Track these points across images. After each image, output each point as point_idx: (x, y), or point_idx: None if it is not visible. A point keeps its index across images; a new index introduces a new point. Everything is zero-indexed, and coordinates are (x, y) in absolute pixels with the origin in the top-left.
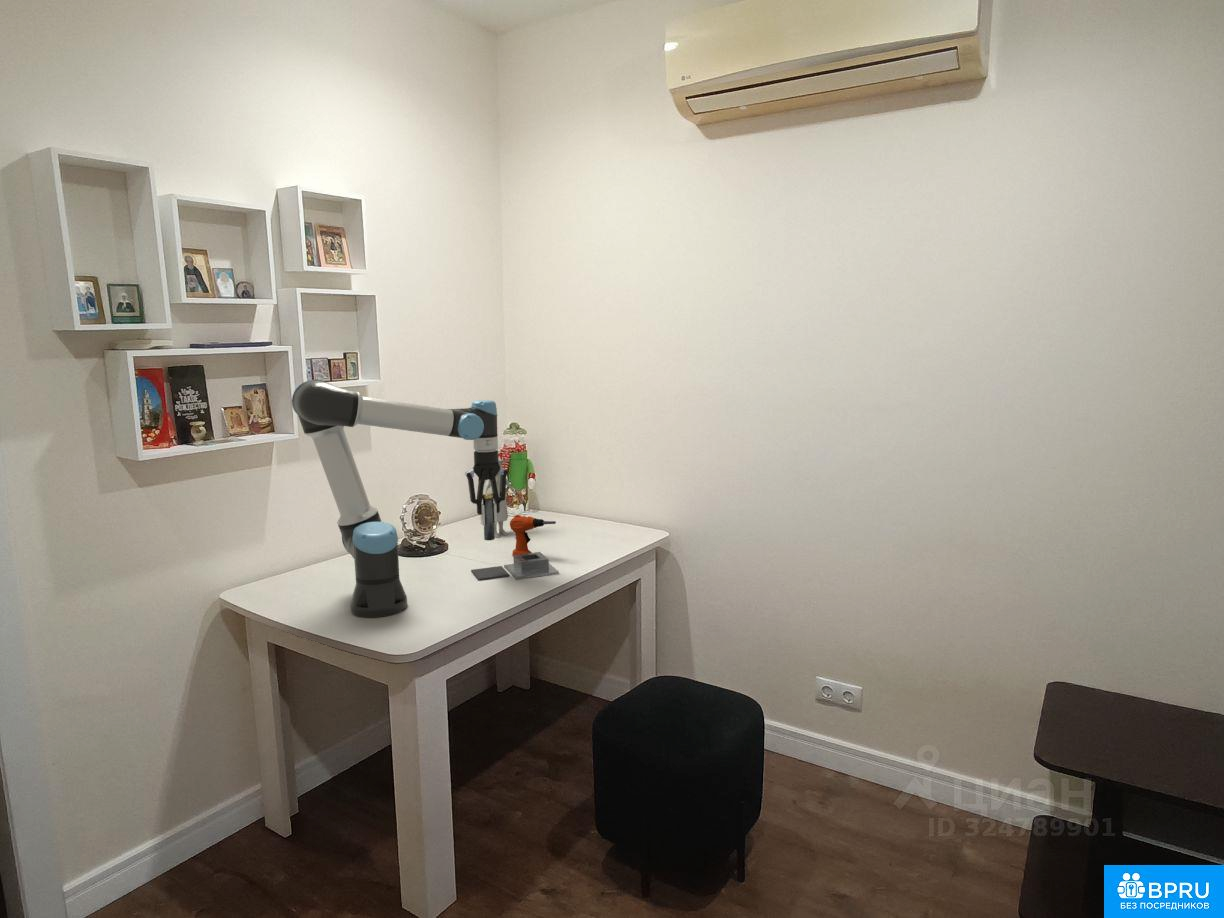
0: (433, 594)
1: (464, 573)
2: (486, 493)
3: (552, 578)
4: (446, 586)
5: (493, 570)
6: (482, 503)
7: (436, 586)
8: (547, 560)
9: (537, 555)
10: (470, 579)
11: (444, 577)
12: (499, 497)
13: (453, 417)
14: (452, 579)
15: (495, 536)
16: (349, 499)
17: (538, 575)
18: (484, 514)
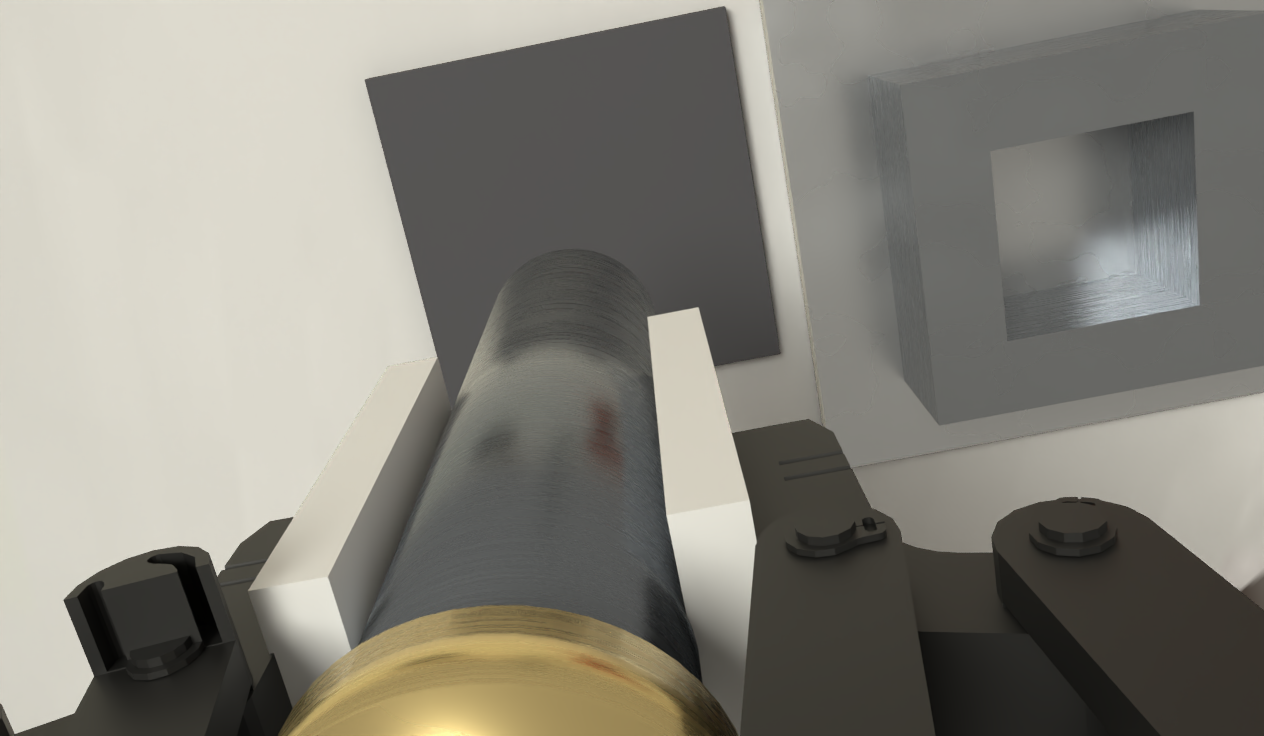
0: (62, 681)
1: (297, 126)
2: (441, 715)
3: (1173, 495)
4: (150, 503)
5: (621, 168)
6: (341, 616)
7: (51, 483)
8: (1255, 360)
9: (1195, 179)
10: (373, 348)
11: (87, 219)
12: (977, 727)
13: None
14: (184, 306)
15: None
16: None
17: (1062, 423)
18: None
